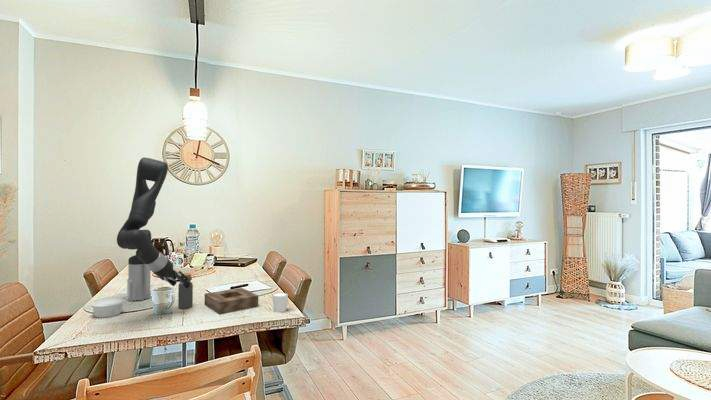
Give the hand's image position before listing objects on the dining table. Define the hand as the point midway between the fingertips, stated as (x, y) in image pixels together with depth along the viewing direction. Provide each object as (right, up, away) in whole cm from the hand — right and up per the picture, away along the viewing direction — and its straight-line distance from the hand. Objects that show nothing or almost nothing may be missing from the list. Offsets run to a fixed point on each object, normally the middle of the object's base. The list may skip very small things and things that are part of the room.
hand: (181, 285), depth 166 cm
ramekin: (-27, -10, -9) cm, 30 cm away
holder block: (+20, -10, +6) cm, 23 cm away
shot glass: (+44, -11, 0) cm, 45 cm away
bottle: (+1, -11, +2) cm, 11 cm away
